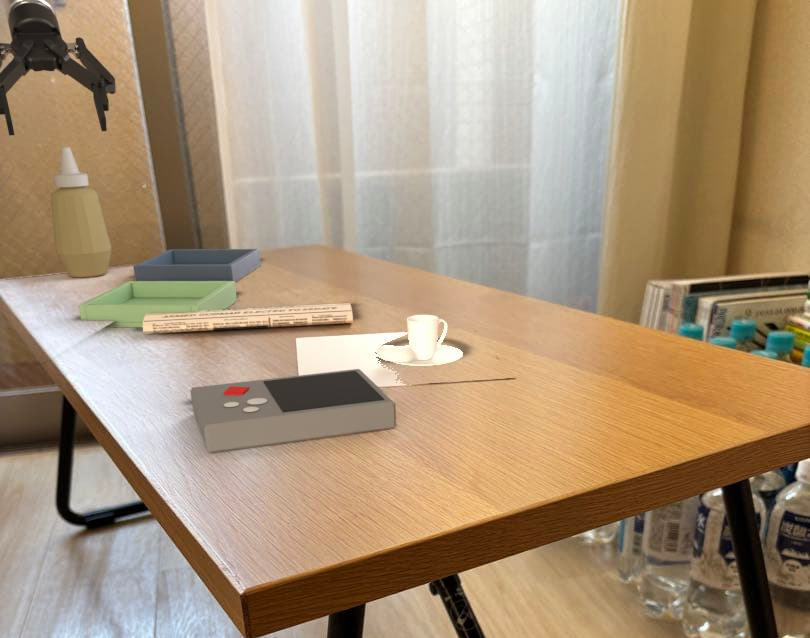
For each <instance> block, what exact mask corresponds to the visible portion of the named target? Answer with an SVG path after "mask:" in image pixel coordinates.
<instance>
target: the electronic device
mask: <svg viewBox="0 0 810 638" xmlns="http://www.w3.org/2000/svg"><path fill="white" fill-rule="evenodd" d="M190 399H191V405H192V412H193V414H194V418H195V420H196V423H197V426H198V428H199V431H200V435H201V437H202V439H203V443H204V446H205V448H206V450H207V452H209V453H210V454H212V453H221V452H222V453H223V452H228V451H237V450H243V449H251V448H252V449H253V448H259V447H266V446H273V445H281V444H288V443H295V442H297V443H298V442H304V441H311V440H318V439H326V438H335V437H343V436H349V435H357V434H363V433H371V432H379V431H387V430H393V429H395V428H396V427H397V409H396V406H397V405H396V402H394V401H393V400H392V399H391V398H390V397H389V396H388V395H387V394H386V393H385V392H384V391H383V390H382V389H381V387H378V386H376V385H375V384H374V383H373V382H372V381H371V380H370V379H369V378H368V377H367V376H366V375H365V374H364V373H363V372H362V371H361V370H360V369H353V370H344V371H335V372H326V373H318V374H309V375H300V376H299V375H291V376H283V377H273V378H266V379H257V380H248V381H240V382H231V383H221V384H213V385H202V386H194V387H192V388H191V389H190Z"/></svg>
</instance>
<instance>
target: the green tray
mask: <svg viewBox="0 0 810 638" xmlns="http://www.w3.org/2000/svg"><path fill="white" fill-rule="evenodd" d="M237 301H238V298H237V289H236V283H235V281H136V280H128V281H125V282H123V283H122V284H119V285H117V286H115V287H113V288H110V289H109V290H107V291H105V292H103V293H101V294H98V295H96V296H94V297H92V298H91V299H88V300H86V301H84V302H82V303H80V304H78V311H79V316H80V320H81V321H113V322H111V323H109V324H107V325H105V326H104V328H143V320H144V317H145V315H146V314H147V313H166V312H199V311H205V310H224V309H229V307H231V306H232V305H234V304H235V303H236V302H237Z"/></svg>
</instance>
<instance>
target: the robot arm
mask: <svg viewBox="0 0 810 638" xmlns="http://www.w3.org/2000/svg"><path fill="white" fill-rule="evenodd" d="M2 2H3V7H4V12H5V15H6V20H7V23H8V29H9V32H10V37H11V42H10V43H3V42H0V69H1V68H2V66H3V61H6V60H7V58H8V56H9V55H10V54H11V55H12V56H13V58H12V60H10V61H9V63H8V64H7V65H6V66H5V67H4V68H3V69H2V71H0V116H1V115H4V117H5V122H6V127H7V132H8V136H15V129H14V125H13V120H12V116H11V115H12V114H11V111H10V107H9V103H8V102H9V101H8V98H7V93H8V92H10V90H11V89H12V88H13V87H14V86H15V84H16V83H17V82H18V81H19V80H20V79H21V78H22V77H25V76H27V74H28V73H29V72H30V71H31V70H32V71H33V72H42V71H46V72H55V70H57V71H58V72H60V73H62V74H63V76H69V77H70V78H72V79H73V80H74V81H76V82H77V83H78V84H80V85H82V86H83V87H84V88H85V89H87V90H88V91H90V92H91V93H92V97H93V102H94V107H95V110H96V114H97V115H96V116H97V118H98V123H99V126H100V129H101V132H107V131H108V130H107V128H108V127H107V118H106V113H105V112H109V110H110V102H109V97H108V94H110V95H114V94H116V92H117V89H116V78H115V77H114V75H112V74H111V73H110V71H109V70H108V69H107V68H106V67H105V66H104V65H103V64H102V62H101V61H99V60H98V59H97V57H96V56H95V55H94V54H93V53H92V52H91V51H90V50H89V49H88V48H87V46H86V43H85V40H84V39H83V38H82V37H79V36H77V37H75V40H74V41H75V42H66V41H65V40H64V39H63V37H62V34H61V29H60V24H59V20H58V17H57V13H56V9H55V5H54V4H55V3H54V0H2ZM70 54H71V55H72V56H74V58H75V59H76V60H74V59H73V58H72V57H71V56H70ZM77 60H79V62H80V63H81V64H80V63H79V62H77Z"/></svg>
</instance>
